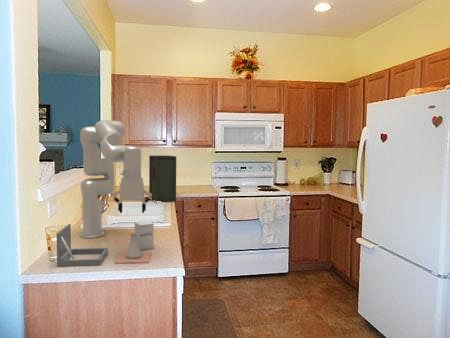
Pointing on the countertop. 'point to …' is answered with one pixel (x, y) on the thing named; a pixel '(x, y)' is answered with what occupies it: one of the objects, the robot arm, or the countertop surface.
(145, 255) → the plate
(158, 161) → the dark green tall block
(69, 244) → the case
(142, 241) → the supplement box
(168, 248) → the countertop surface
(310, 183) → the countertop surface
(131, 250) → the flask
